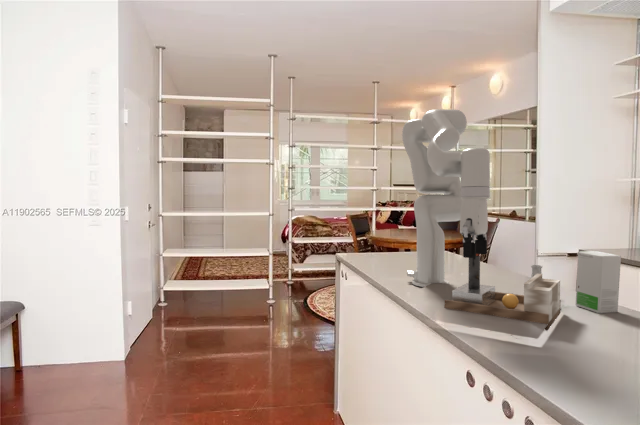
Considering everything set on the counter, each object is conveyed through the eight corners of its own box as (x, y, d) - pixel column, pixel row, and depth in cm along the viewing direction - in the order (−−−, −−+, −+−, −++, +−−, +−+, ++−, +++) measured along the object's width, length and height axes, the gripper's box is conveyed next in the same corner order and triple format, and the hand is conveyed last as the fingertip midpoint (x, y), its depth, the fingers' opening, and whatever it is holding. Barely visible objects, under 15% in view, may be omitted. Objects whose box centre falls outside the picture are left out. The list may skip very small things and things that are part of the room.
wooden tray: (444, 313, 117) (444, 275, 116) (466, 299, 131) (467, 266, 131) (547, 330, 102) (548, 287, 101) (560, 312, 116) (560, 275, 116)
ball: (500, 309, 115) (500, 294, 115) (504, 305, 118) (504, 291, 118) (516, 311, 112) (516, 296, 112) (520, 308, 116) (520, 293, 115)
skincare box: (574, 306, 123) (575, 251, 122) (594, 304, 124) (595, 250, 124) (600, 314, 115) (601, 255, 114) (620, 312, 116) (621, 254, 115)
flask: (553, 301, 128) (553, 267, 128) (526, 300, 130) (527, 267, 129) (545, 295, 135) (545, 263, 135) (520, 295, 137) (520, 263, 136)
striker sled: (452, 305, 119) (452, 257, 118) (466, 296, 128) (467, 252, 127) (482, 309, 114) (482, 260, 113) (495, 300, 123) (495, 254, 123)
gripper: (471, 194, 128) (471, 251, 129) (450, 193, 115) (450, 258, 115) (498, 193, 124) (498, 253, 124) (479, 193, 110) (479, 260, 111)
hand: (475, 255), depth 120 cm, fingers open, 9 cm apart
